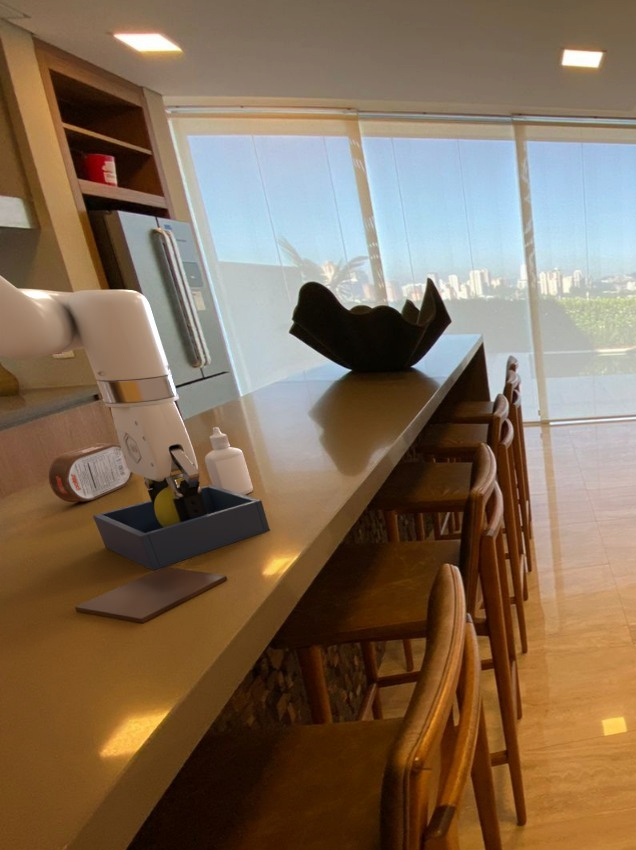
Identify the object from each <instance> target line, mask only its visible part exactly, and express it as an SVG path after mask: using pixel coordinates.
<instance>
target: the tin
mask: <svg viewBox="0 0 636 850" xmlns="http://www.w3.org/2000/svg"><path fill="white" fill-rule="evenodd" d="M48 470H49V471H48V483H49V485H50V488H51V491H53V494H55V495H56V497H57V498H59V499H60V500H62V501H64V502H68V503H76V502H81V503H82V502H83V503H85V502H92V501H94V500H96V499H99V498H102V497H103V496H105V495H108V494H110V493H112V492H115V491H117V490H119V489H122V488H124V487H126V486H127V485H128V484H130V481H131V480H132V477H133V474H134V473H132V472H130V471H129V469H128V468H127V465H126V462H125V459H124V456H123V452H122V449H121V446H120V444H116V443H104V442H96V443H93V444H89V445H87V446H84V447H80V448H77V449H74V450H71V451H67V452H64V453H61V454H59V455H58V456H57V457H55V458H54V460H53V461H52V462H51V464H50V467H49V469H48Z"/></svg>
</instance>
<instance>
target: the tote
mask: <svg viewBox="0 0 636 850" xmlns="http://www.w3.org/2000/svg"><path fill="white" fill-rule="evenodd" d="M200 488H201V491H202V493H201V494H202V497H203V500H204V503H205V506H206V509H207V512H208V515H204V516H201V517H198V518H194V519H191V520H188V521H184V522H181V523H177V524H174V525H171V526H167V527H164V528H163V527H162V525H161V524H160V523H159V521H158V519H157V517H156V515H155V510H154V507H153V504H152V501H151V499H150V500H147V501H143V502H140V503H135V504H132V505H129V506H128V505H127V506H123V507H121V508H116V509H112V510H108V511H105V512H101V513H98V514H94V515H93V514H92V517H93V520H94V521H95V525H96V528H97V530H98V532H99V535H100V538H101V540H102V541H103V545H104V547H105V548H107V549H109V551H110V550H111V551H112V552H115V553H117V554H119V555H121V556H123V557H125V558H127V559H129V560H131V561H133V562H135V563H137V564H139V565H141V566H143V567H145V568H147V569H148V570H151V571H157V570H159V569H161V568H163V567H169V566H170V565H173V564H176V563H179V562H183V561H185V560H188V559H191V558H194V557H196V556H197V557H198V556H199V555H202V554H205V553H208V552H211V551H214V550H217V549H220V548H222V547H225V546H228V545H232V544H234V543H236V542H237V543H238V542H240V541H244V540H245V539H249V538H251V537H255V536H258V535H260V534H263V533H266V532H269V531H271V530H270V526H269V522H268V519H267V516H266V512H265V508H264V504H263V501H262V499H258V498H255V497H253V496H249V495H247V494H246V495H242V494H239V493H236V492H232V491H229V490H226V489H223V488H219V487H216V486H213V485H212V484H208V485H204V486H200Z"/></svg>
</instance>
